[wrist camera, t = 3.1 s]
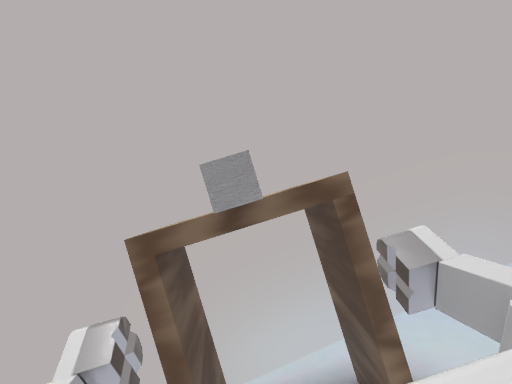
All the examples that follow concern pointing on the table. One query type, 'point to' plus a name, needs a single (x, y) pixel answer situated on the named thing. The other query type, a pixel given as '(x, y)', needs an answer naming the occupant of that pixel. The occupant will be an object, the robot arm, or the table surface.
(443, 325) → the table surface
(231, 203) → the bar
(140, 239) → the wooden side table
